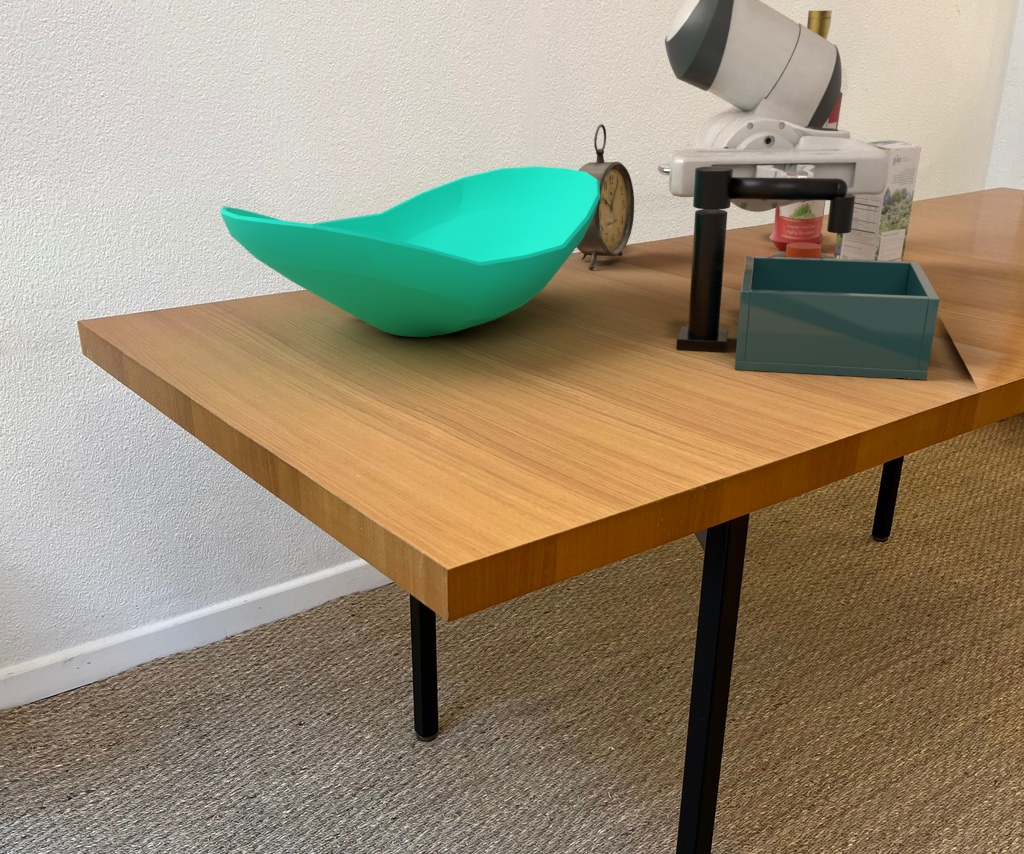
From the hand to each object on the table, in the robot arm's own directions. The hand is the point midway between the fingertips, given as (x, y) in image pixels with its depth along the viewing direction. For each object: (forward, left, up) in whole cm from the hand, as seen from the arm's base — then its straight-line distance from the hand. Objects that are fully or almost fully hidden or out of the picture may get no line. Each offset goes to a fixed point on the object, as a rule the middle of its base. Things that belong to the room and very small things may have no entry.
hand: (797, 183), depth 92 cm
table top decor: (+34, +2, -14) cm, 37 cm away
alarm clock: (+22, -31, -14) cm, 41 cm away
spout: (+2, +3, -4) cm, 5 cm away
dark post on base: (+7, +3, -14) cm, 16 cm away
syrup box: (-10, -31, -14) cm, 36 cm away
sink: (-4, +3, -14) cm, 15 cm away
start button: (-2, -18, -10) cm, 21 cm away
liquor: (-2, -44, -14) cm, 46 cm away
